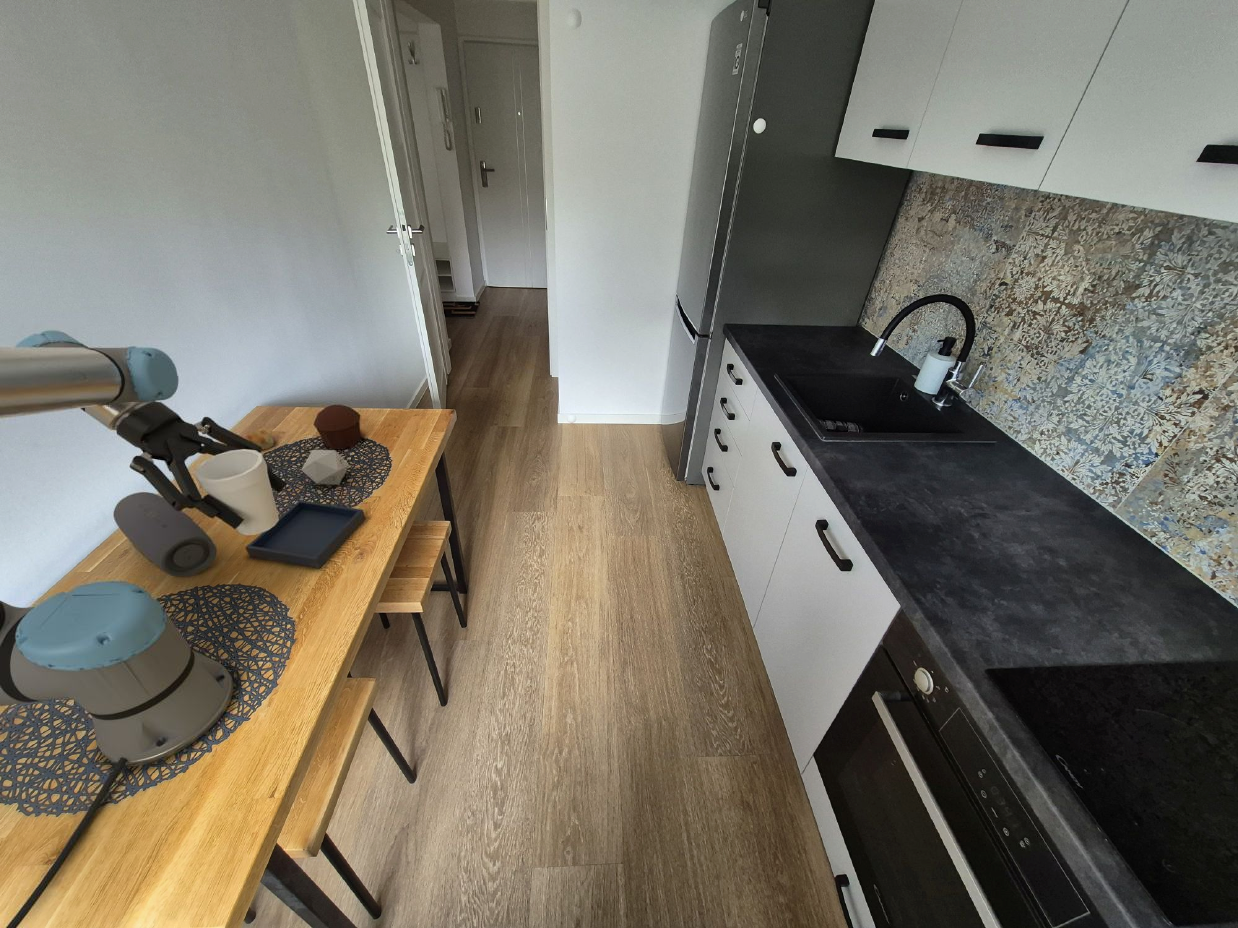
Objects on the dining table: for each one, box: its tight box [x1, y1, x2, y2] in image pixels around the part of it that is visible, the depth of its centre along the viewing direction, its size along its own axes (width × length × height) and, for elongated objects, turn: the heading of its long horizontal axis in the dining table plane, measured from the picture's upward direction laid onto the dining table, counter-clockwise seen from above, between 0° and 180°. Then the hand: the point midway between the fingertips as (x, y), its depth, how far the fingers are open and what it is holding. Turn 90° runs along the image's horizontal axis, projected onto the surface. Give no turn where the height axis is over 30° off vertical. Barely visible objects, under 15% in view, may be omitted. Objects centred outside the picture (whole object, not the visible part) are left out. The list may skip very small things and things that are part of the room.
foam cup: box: [194, 449, 280, 536], centre depth 86 cm, size 10×9×13 cm
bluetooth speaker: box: [113, 491, 218, 578], centre depth 96 cm, size 23×9×10 cm, turn 57°
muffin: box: [313, 404, 362, 450], centre depth 132 cm, size 12×11×10 cm
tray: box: [245, 499, 366, 569], centre depth 104 cm, size 15×15×3 cm
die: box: [301, 449, 350, 486], centre depth 118 cm, size 8×9×10 cm
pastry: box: [242, 428, 275, 451], centre depth 130 cm, size 9×7×4 cm
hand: (262, 505), depth 86 cm, fingers closed on foam cup, 9 cm apart
